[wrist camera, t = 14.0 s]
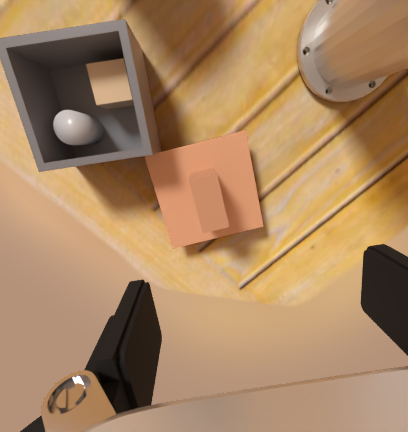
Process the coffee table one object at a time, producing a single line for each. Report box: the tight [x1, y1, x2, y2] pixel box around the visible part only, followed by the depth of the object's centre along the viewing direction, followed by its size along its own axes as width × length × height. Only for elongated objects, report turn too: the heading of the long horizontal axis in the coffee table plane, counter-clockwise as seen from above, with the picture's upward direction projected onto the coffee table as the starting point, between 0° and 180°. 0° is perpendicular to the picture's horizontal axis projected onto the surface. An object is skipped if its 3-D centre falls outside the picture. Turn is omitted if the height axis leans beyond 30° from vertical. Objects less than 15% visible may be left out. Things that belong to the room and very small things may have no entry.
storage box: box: [0, 19, 162, 172], centre depth 28 cm, size 12×12×8 cm
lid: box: [144, 130, 264, 248], centre depth 30 cm, size 13×13×7 cm
